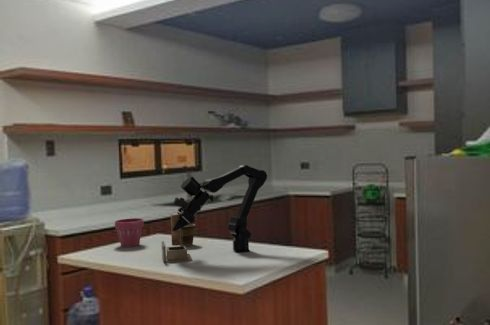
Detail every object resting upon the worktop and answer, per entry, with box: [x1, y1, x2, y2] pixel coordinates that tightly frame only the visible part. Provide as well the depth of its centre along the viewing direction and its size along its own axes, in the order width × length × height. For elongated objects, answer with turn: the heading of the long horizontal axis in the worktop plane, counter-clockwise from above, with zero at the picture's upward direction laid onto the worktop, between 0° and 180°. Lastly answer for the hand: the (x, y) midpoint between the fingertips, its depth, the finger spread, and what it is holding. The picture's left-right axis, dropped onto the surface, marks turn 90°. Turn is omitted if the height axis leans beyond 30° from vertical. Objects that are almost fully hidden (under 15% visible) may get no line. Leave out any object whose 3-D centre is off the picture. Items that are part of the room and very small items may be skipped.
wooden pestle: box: [170, 213, 181, 247], centre depth 208 cm, size 4×4×13 cm
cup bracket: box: [161, 240, 193, 264], centre depth 208 cm, size 12×12×7 cm
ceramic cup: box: [179, 223, 196, 247], centre depth 238 cm, size 13×10×10 cm
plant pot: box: [114, 217, 145, 248], centre depth 243 cm, size 14×14×13 cm
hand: (172, 229), depth 208 cm, fingers closed on wooden pestle, 4 cm apart
